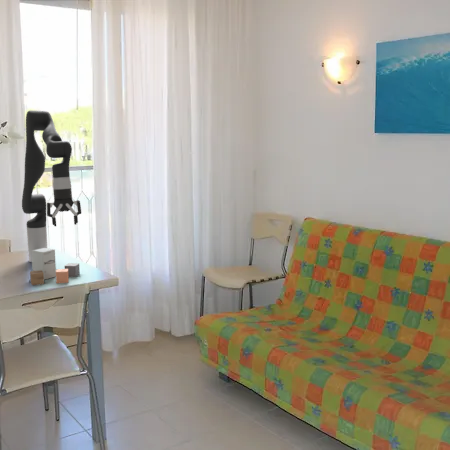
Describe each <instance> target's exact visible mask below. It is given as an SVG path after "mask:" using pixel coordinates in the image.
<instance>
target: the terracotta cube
mask: <svg viewBox="0 0 450 450" xmlns="http://www.w3.org/2000/svg"><path fill="white" fill-rule="evenodd" d="M69 278H70V277H68V269H65V268H59V269H56V277H55V282H56V284H65V283H67V284H68V283H69V282H70V281H69V280H70V279H69Z"/></svg>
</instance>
